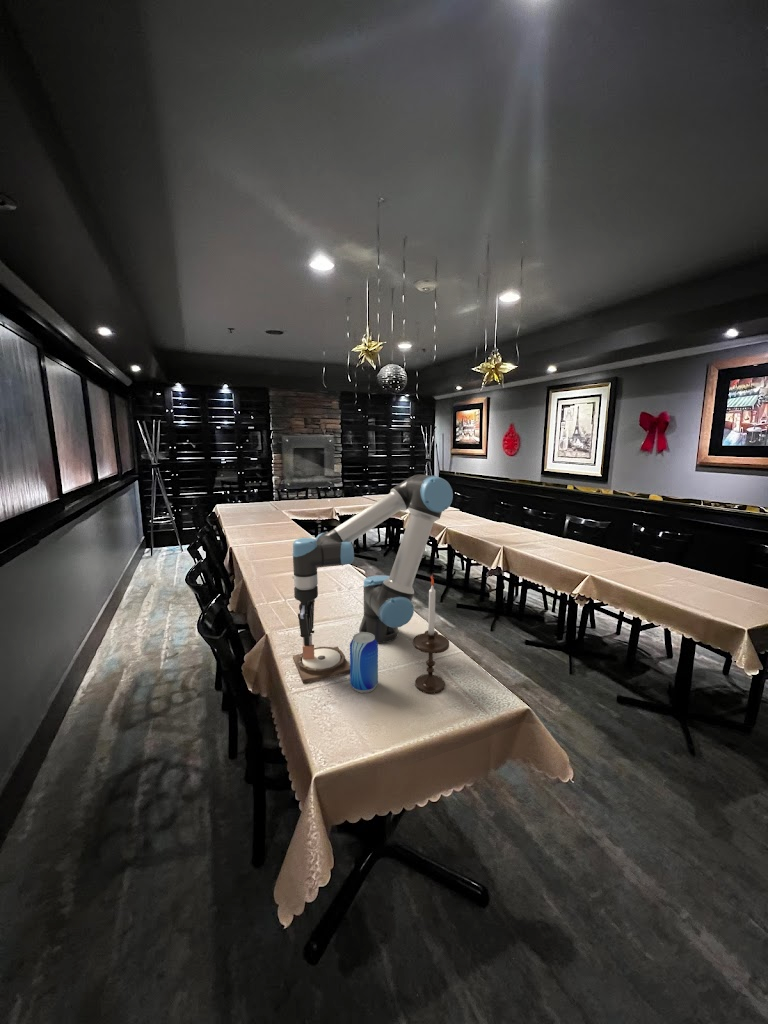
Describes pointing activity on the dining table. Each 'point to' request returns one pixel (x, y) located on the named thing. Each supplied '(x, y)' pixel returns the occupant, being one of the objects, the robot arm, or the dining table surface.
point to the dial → (319, 657)
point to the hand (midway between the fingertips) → (308, 652)
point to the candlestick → (430, 650)
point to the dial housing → (319, 674)
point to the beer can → (364, 662)
